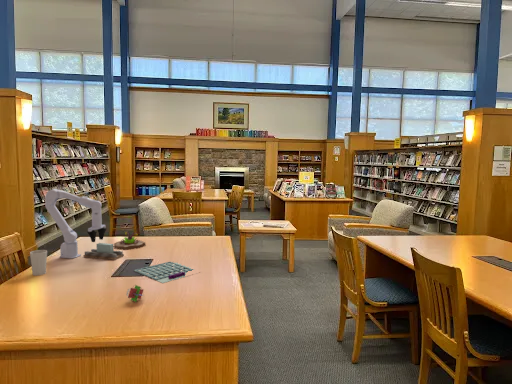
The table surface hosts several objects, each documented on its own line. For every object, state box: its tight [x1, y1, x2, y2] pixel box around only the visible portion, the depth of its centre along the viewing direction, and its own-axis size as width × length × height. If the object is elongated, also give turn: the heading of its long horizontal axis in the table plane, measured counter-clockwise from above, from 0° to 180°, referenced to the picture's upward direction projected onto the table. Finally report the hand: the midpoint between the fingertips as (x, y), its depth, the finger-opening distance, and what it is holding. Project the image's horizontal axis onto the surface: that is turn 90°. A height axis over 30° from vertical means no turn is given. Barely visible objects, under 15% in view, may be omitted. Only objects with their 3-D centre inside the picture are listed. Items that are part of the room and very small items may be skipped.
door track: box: [82, 248, 125, 261], centre depth 230 cm, size 22×10×3 cm, turn 76°
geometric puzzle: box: [126, 284, 145, 303], centre depth 160 cm, size 7×7×8 cm
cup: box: [29, 249, 48, 276], centre depth 195 cm, size 8×8×12 cm
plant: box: [113, 231, 146, 251], centre depth 258 cm, size 20×20×11 cm
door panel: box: [96, 242, 114, 254], centre depth 230 cm, size 10×3×7 cm, turn 76°
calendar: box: [133, 261, 194, 284], centre depth 202 cm, size 27×28×2 cm
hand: (97, 240), depth 233 cm, fingers open, 7 cm apart
